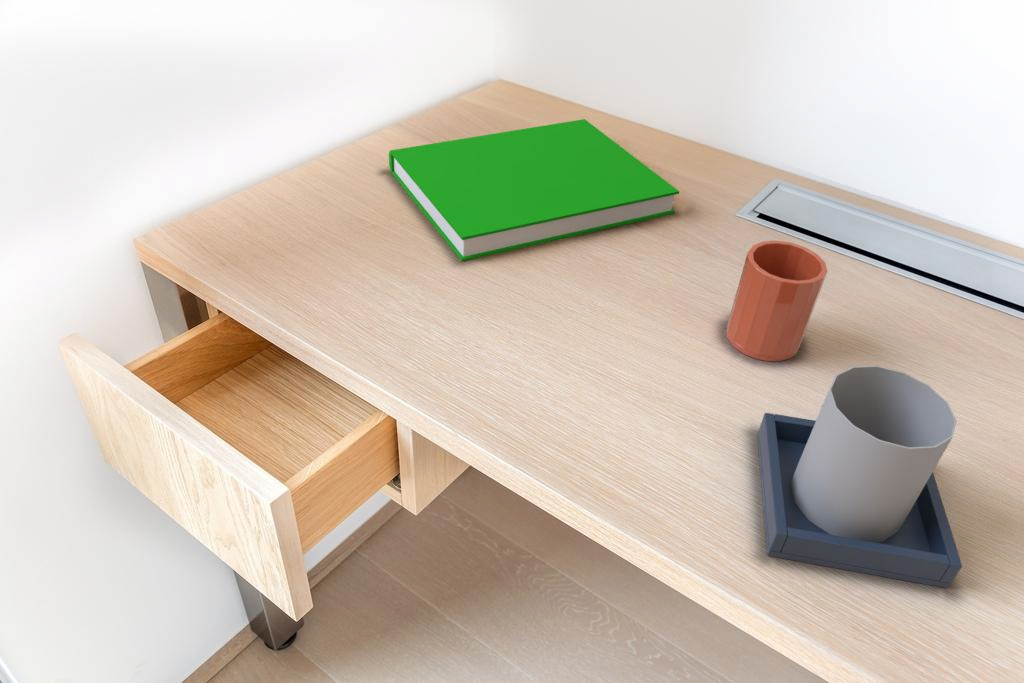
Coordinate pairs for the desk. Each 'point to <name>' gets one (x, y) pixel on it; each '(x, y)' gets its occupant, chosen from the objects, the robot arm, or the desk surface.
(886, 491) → the cup
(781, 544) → the tray
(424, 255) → the desk surface
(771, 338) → the tumbler
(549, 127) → the book
